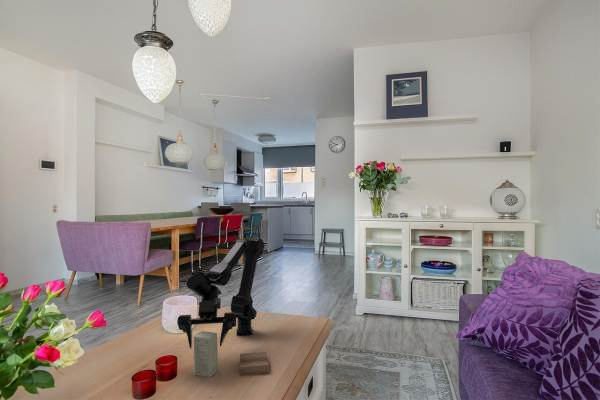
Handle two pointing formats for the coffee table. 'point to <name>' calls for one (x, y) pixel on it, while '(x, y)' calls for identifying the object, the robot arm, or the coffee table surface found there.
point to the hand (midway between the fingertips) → (205, 347)
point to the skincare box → (205, 354)
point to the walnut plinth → (254, 363)
